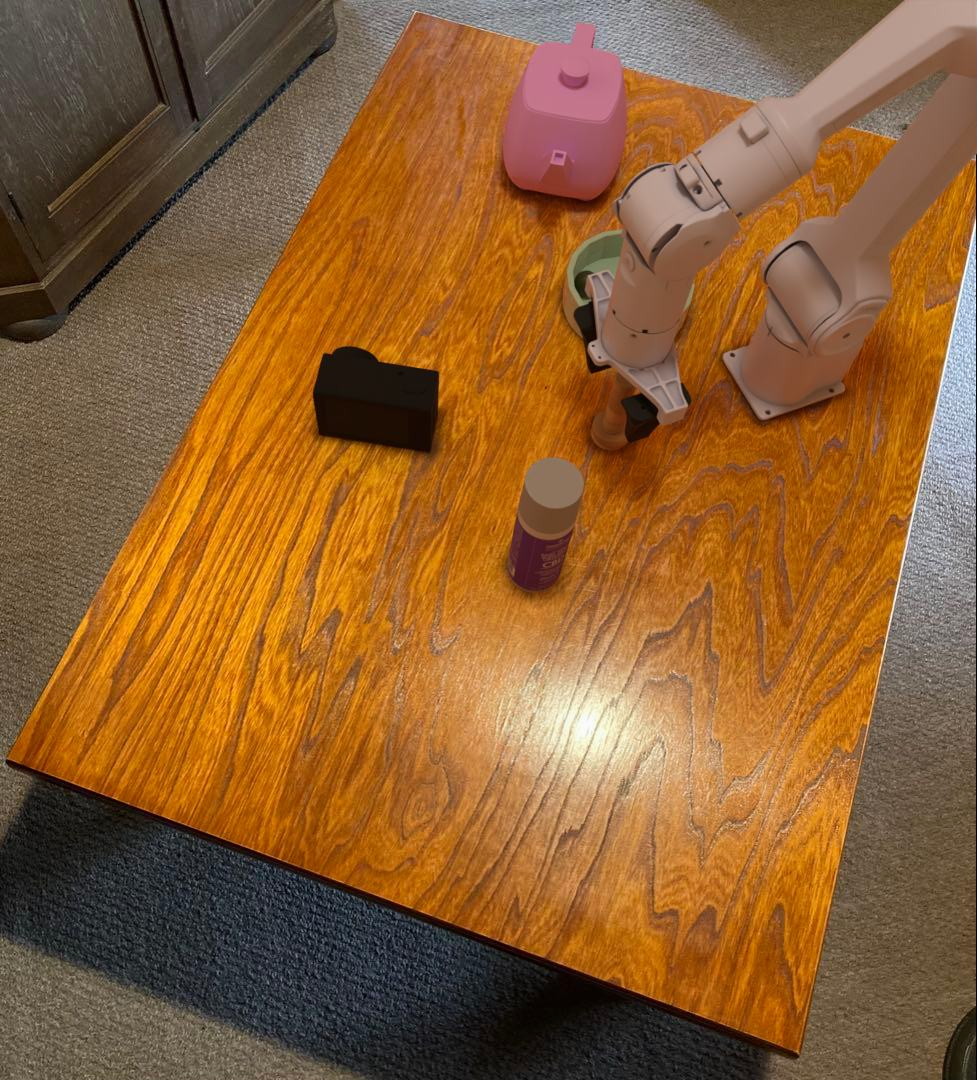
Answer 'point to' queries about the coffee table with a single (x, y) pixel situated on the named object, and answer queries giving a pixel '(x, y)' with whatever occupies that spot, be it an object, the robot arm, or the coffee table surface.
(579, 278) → the olive
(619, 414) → the brown piece
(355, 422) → the digital camera
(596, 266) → the bowl
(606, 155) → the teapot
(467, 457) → the coffee table surface
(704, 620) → the coffee table surface
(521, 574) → the container
